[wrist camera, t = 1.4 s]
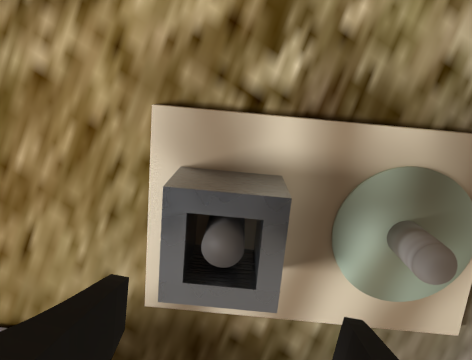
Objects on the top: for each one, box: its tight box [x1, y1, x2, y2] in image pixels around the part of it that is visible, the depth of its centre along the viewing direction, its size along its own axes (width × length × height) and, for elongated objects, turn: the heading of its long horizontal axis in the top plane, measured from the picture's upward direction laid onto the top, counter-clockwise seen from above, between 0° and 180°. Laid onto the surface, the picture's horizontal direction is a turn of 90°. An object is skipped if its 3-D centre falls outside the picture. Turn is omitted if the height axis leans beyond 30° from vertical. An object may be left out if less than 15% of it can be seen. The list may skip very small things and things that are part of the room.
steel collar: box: [158, 167, 292, 313], centre depth 19 cm, size 6×6×4 cm
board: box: [145, 104, 472, 336], centre depth 19 cm, size 19×12×6 cm, turn 85°
